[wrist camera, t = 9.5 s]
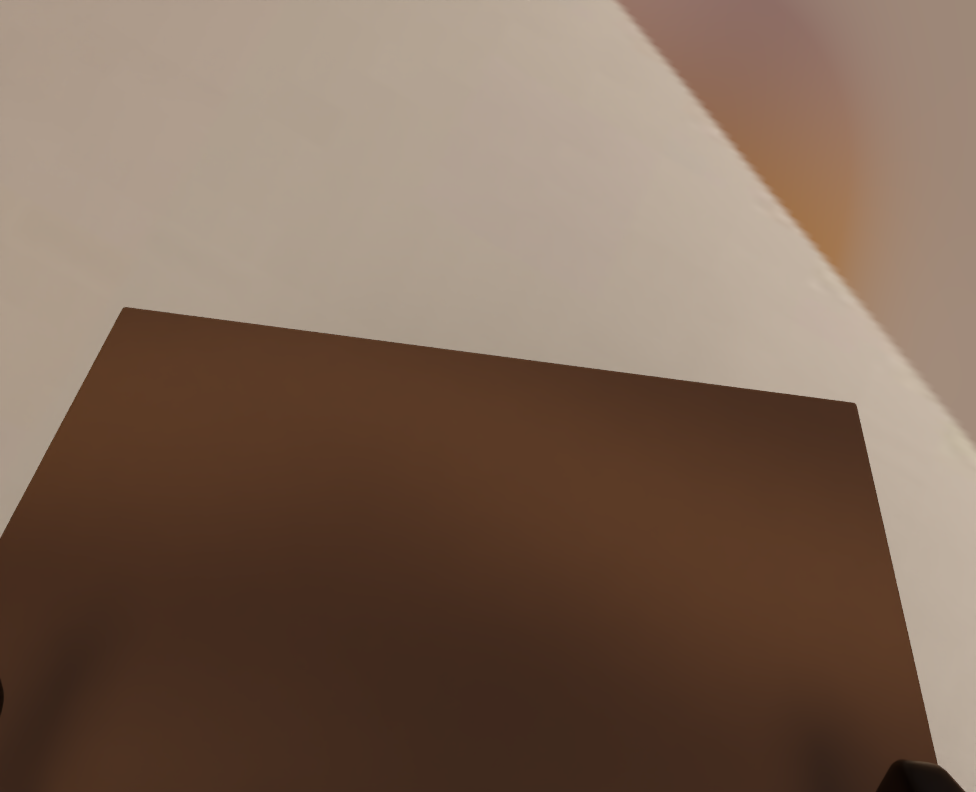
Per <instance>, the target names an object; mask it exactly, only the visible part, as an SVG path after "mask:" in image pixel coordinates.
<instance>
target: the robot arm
mask: <svg viewBox="0 0 976 792" xmlns="http://www.w3.org/2000/svg"><path fill="white" fill-rule="evenodd" d="M3 703H4V690H3V686H2V683H1V679H0V715H1V712H2V709H3ZM876 792H965V791H964V790H963V789H962V788H961V787H960V786H959V784H958V783H957V782H956V781H955V780H954V779H953V778H952V777H951V775H950V774H949V773H948V772H947V771H946V770H944V769H943V768H942V767H940V766H939V765H937V764H933V763H929V762H921V761H914V760H906V759H899V760H897V761H895V762H893V763H892V764H891V766H890V767H889V769H888V771H887V773H886V774H885V776H884V778H883V779H882V781H881V783H880V785H879V786H878V788H877V790H876Z"/></svg>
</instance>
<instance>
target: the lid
mask: <svg viewBox="0 0 976 792" xmlns="http://www.w3.org/2000/svg"><path fill="white" fill-rule="evenodd" d="M0 679H1V683H2V686H3V690H4V703H3V709H2V712H1V715H0V792H876V790H877V788H878V786H879V785H880V783H881V781H882V779H883V778H884V776H885V774H886V773H887V771H888V769H889V767H890V766H891V764H892V763H893V762H895V761H897V760H899V759H906V760H914V761H921V762H929V763H933V764H937V760H936V755H935V751H934V746H933V742H932V738H931V733H930V729H929V724H928V720H927V715H926V711H925V707H924V702H923V698H922V693H921V689H920V684H919V680H918V676H917V671H916V667H915V662H914V658H913V653H912V649H911V645H910V640H909V636H908V631H907V627H906V622H905V618H904V614H903V609H902V605H901V600H900V596H899V592H898V587H897V583H896V578H895V574H894V569H893V565H892V561H891V556H890V552H889V547H888V543H887V538H886V534H885V530H884V525H883V521H882V516H881V512H880V507H879V503H878V499H877V494H876V490H875V485H874V481H873V476H872V472H871V468H870V463H869V459H868V454H867V450H866V445H865V441H864V437H863V432H862V428H861V423H860V419H859V414H858V410H857V406H856V404H855V403H851V402H843V401H836V400H828V399H820V398H813V397H805V396H798V395H790V394H782V393H775V392H767V391H760V390H752V389H744V388H737V387H729V386H721V385H714V384H706V383H699V382H691V381H683V380H676V379H668V378H661V377H653V376H645V375H638V374H630V373H623V372H615V371H607V370H600V369H592V368H585V367H577V366H569V365H562V364H554V363H547V362H539V361H531V360H524V359H516V358H509V357H501V356H493V355H486V354H478V353H470V352H463V351H455V350H448V349H440V348H432V347H425V346H417V345H410V344H402V343H394V342H387V341H379V340H372V339H364V338H356V337H349V336H341V335H334V334H326V333H318V332H311V331H303V330H296V329H288V328H280V327H273V326H265V325H257V324H250V323H242V322H235V321H227V320H219V319H212V318H204V317H197V316H189V315H181V314H174V313H166V312H159V311H151V310H143V309H136V308H128V307H124V308H123V309H122V311H121V313H120V314H119V316H118V318H117V320H116V322H115V324H114V326H113V328H112V329H111V331H110V333H109V335H108V337H107V339H106V341H105V343H104V344H103V346H102V348H101V350H100V352H99V354H98V356H97V358H96V359H95V361H94V363H93V365H92V367H91V369H90V371H89V373H88V375H87V376H86V378H85V380H84V382H83V384H82V386H81V388H80V390H79V391H78V393H77V395H76V397H75V399H74V401H73V403H72V405H71V406H70V408H69V410H68V412H67V414H66V416H65V418H64V420H63V421H62V423H61V425H60V427H59V429H58V431H57V433H56V435H55V437H54V438H53V440H52V442H51V444H50V446H49V448H48V450H47V452H46V453H45V455H44V457H43V459H42V461H41V463H40V465H39V467H38V468H37V470H36V472H35V474H34V476H33V478H32V480H31V482H30V483H29V485H28V487H27V489H26V491H25V493H24V495H23V497H22V499H21V500H20V502H19V504H18V506H17V508H16V510H15V512H14V514H13V515H12V517H11V519H10V521H9V523H8V525H7V527H6V529H5V530H4V532H3V534H2V536H1V538H0ZM937 765H938V764H937Z"/></svg>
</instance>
